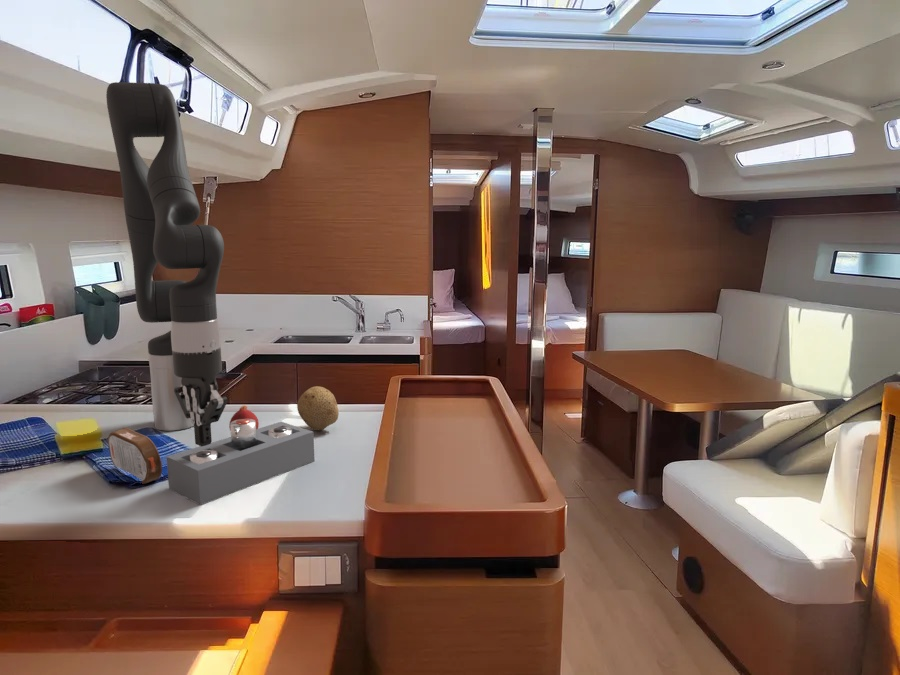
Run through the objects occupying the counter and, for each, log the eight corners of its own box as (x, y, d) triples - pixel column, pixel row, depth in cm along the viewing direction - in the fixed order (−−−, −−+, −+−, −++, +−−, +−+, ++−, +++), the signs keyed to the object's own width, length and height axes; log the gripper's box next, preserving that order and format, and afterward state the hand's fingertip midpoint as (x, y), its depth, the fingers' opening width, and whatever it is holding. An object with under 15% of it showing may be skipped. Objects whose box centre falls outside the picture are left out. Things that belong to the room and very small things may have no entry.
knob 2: (264, 450, 117) (263, 429, 116) (283, 444, 120) (282, 423, 119) (278, 456, 114) (277, 434, 113) (297, 449, 117) (296, 428, 117)
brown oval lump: (297, 424, 139) (295, 382, 137) (336, 421, 142) (335, 380, 140) (299, 437, 131) (297, 393, 129) (340, 433, 133) (339, 390, 131)
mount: (169, 489, 105) (166, 456, 104) (282, 449, 124) (281, 421, 122) (200, 505, 99) (198, 470, 98) (314, 460, 118) (313, 431, 117)
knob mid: (226, 444, 110) (225, 421, 109) (247, 437, 113) (246, 415, 112) (240, 449, 107) (239, 426, 106) (261, 442, 110) (260, 420, 110)
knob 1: (186, 477, 104) (184, 453, 103) (209, 469, 108) (208, 446, 107) (200, 483, 101) (198, 459, 101) (223, 475, 105) (222, 452, 104)
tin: (165, 484, 107) (161, 439, 105) (147, 490, 104) (143, 444, 103) (124, 464, 116) (120, 422, 114) (107, 469, 113) (103, 427, 112)
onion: (250, 447, 125) (248, 410, 123) (225, 445, 126) (222, 408, 124) (264, 438, 130) (262, 402, 129) (240, 436, 131) (237, 401, 130)
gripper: (154, 344, 101) (162, 442, 105) (197, 355, 93) (205, 460, 97) (195, 338, 107) (202, 430, 110) (239, 347, 99) (245, 446, 103)
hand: (203, 444), depth 104 cm, fingers closed
